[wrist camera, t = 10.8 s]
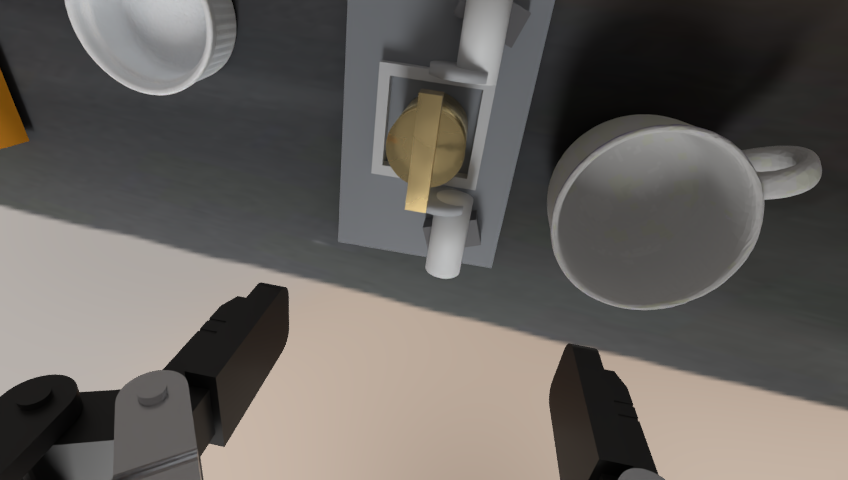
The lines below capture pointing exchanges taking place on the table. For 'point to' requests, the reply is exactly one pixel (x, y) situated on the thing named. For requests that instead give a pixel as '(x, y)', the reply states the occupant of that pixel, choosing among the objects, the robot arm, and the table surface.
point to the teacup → (663, 208)
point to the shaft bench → (467, 83)
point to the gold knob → (427, 145)
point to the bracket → (9, 119)
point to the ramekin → (156, 40)
